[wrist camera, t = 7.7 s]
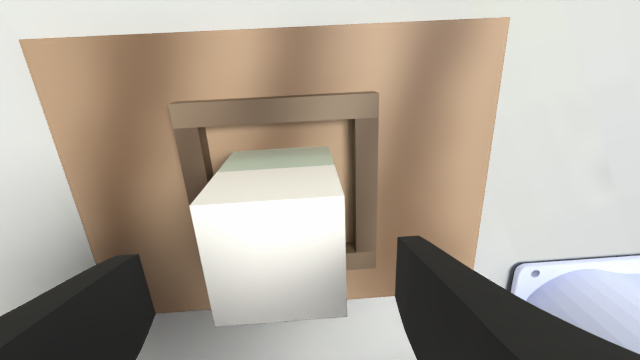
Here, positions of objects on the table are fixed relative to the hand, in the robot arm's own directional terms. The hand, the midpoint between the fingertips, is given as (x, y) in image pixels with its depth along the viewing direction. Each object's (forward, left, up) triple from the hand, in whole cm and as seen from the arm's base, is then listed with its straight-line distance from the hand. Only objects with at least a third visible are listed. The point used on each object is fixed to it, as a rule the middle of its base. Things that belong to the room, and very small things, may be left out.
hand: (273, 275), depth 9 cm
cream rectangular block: (0, 0, -7) cm, 7 cm away
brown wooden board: (0, 0, -8) cm, 8 cm away
